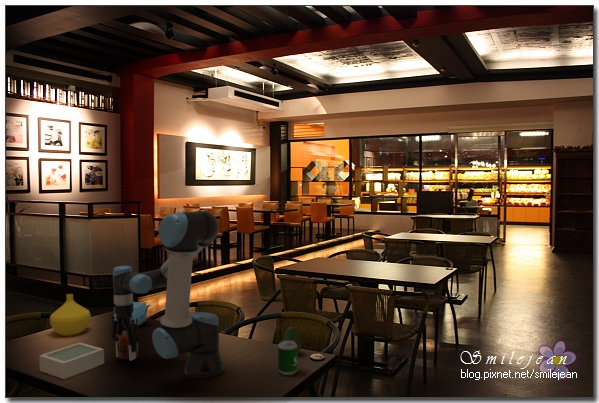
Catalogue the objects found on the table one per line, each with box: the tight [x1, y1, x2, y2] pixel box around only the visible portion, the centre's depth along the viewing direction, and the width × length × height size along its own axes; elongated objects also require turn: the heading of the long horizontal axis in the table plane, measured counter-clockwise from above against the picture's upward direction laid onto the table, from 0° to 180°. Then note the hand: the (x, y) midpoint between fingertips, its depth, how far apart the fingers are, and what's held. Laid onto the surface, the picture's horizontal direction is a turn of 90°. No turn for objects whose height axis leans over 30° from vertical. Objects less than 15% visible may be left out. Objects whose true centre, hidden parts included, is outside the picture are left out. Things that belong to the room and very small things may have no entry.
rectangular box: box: [38, 342, 105, 380], centre depth 203 cm, size 16×18×6 cm
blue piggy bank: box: [113, 301, 152, 326], centre depth 257 cm, size 18×16×13 cm
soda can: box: [277, 340, 298, 376], centre depth 196 cm, size 8×8×12 cm
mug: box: [117, 330, 140, 361], centre depth 208 cm, size 12×9×10 cm
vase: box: [49, 293, 92, 337], centre depth 247 cm, size 18×18×19 cm
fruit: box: [282, 326, 302, 354], centre depth 215 cm, size 8×8×12 cm
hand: (126, 357), depth 209 cm, fingers closed on mug, 7 cm apart
